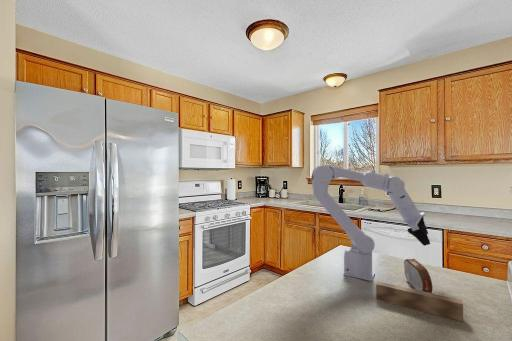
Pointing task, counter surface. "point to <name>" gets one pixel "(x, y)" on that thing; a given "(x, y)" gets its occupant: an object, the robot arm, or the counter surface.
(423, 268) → the tin
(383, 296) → the walnut board
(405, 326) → the counter surface
